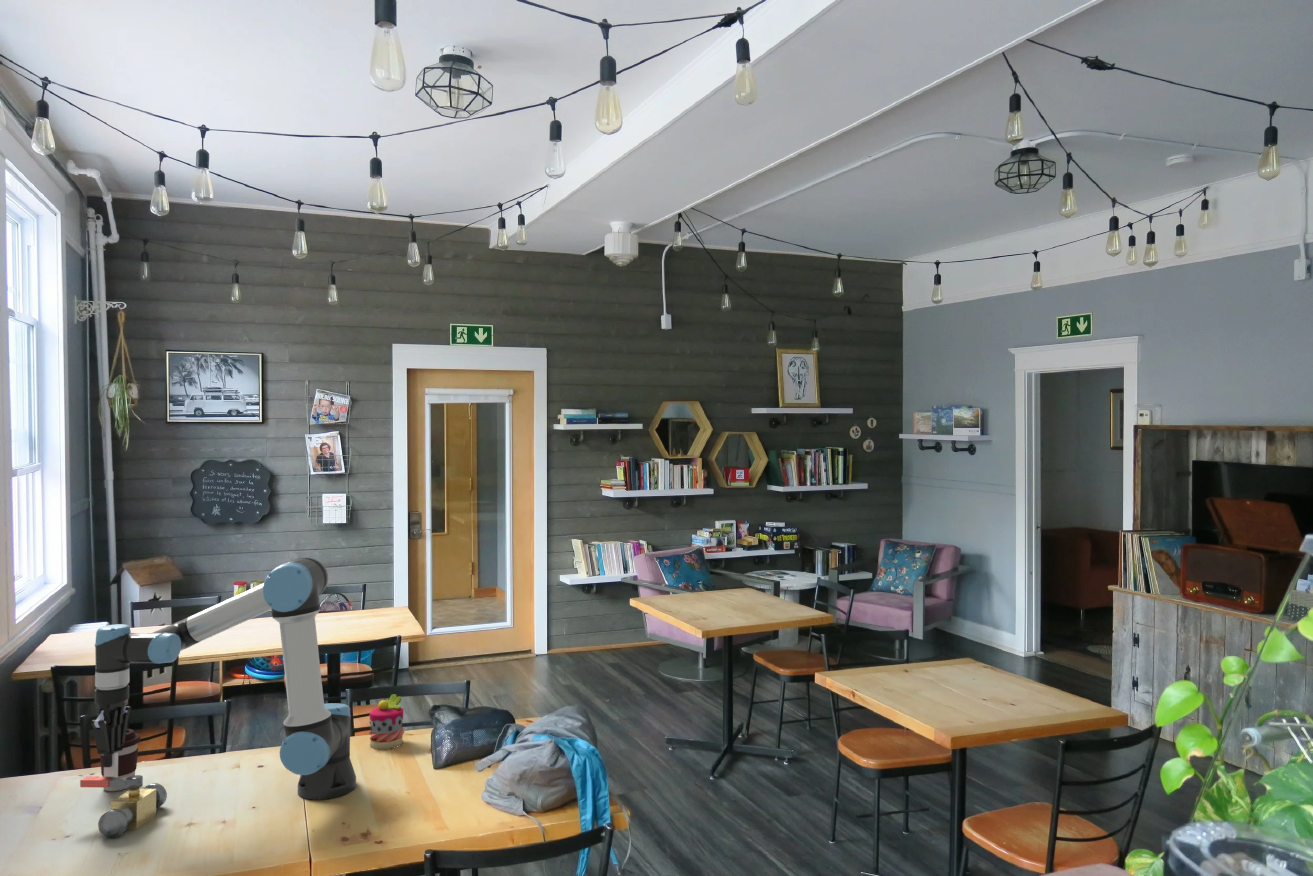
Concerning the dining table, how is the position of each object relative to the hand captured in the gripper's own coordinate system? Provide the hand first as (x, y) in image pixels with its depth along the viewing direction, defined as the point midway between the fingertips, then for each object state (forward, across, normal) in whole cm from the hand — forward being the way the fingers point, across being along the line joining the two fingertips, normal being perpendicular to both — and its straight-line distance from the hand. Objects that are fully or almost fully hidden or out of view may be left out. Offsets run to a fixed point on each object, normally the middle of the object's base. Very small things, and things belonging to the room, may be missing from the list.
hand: (110, 778), depth 220 cm
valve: (+9, +5, +9) cm, 14 cm away
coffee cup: (+9, -17, -8) cm, 21 cm away
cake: (+9, -51, +55) cm, 76 cm away
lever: (0, +5, +4) cm, 6 cm away
